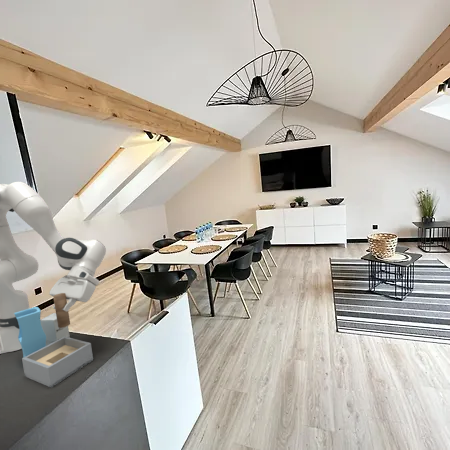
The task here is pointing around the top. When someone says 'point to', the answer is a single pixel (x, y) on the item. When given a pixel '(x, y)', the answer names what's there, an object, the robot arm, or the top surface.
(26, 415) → the top surface
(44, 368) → the bore box
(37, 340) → the blue curved piece
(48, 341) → the supplement box
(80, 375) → the top surface
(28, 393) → the top surface
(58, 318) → the peg
